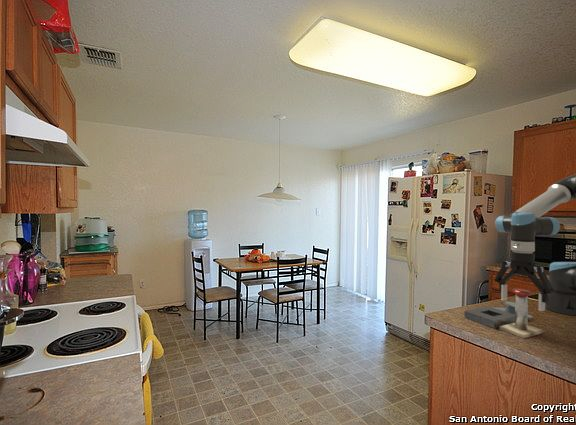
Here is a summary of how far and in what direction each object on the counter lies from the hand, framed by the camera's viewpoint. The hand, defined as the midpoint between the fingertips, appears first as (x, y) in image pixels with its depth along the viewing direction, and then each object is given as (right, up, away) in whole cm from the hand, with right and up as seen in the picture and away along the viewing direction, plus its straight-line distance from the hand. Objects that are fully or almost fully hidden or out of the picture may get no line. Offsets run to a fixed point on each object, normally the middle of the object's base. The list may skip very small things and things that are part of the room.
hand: (521, 305), depth 122 cm
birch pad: (0, -10, 0) cm, 10 cm away
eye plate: (-4, -10, +12) cm, 16 cm away
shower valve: (+10, -11, +19) cm, 24 cm away
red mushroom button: (0, -9, 0) cm, 9 cm away
